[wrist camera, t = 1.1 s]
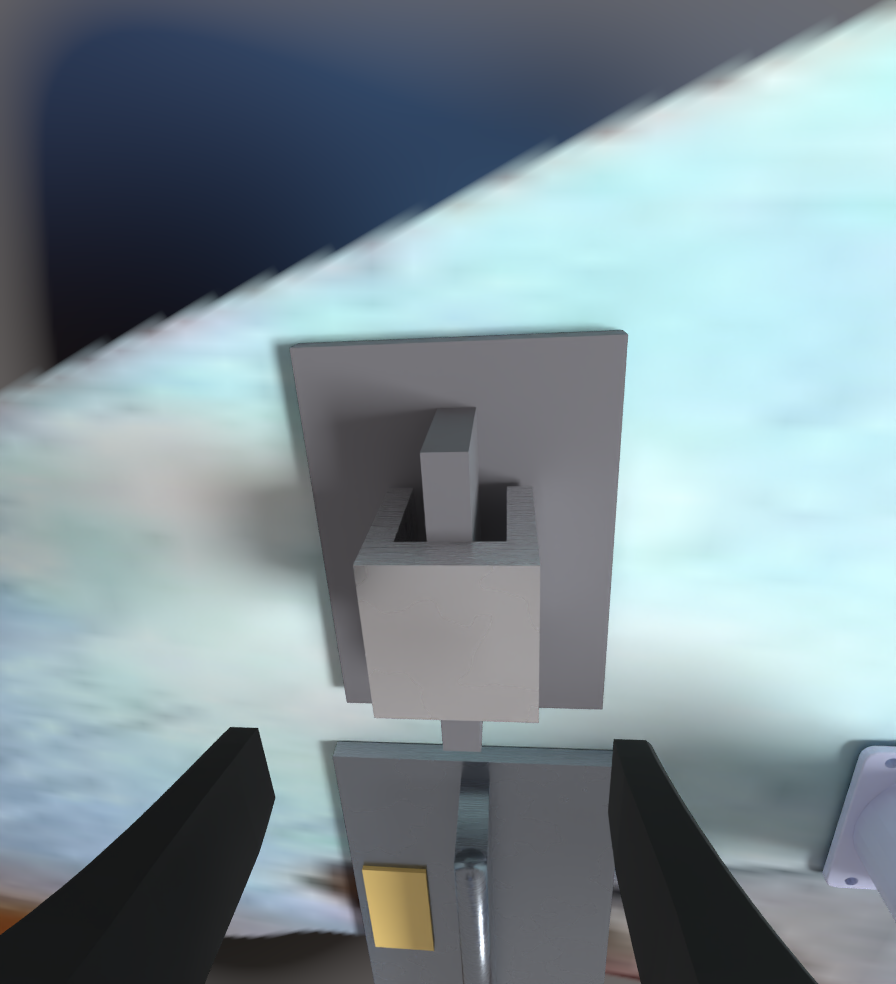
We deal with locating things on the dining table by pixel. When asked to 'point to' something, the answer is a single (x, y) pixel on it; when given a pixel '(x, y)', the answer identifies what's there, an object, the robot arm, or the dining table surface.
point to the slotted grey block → (451, 617)
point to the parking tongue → (474, 475)
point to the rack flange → (480, 861)
